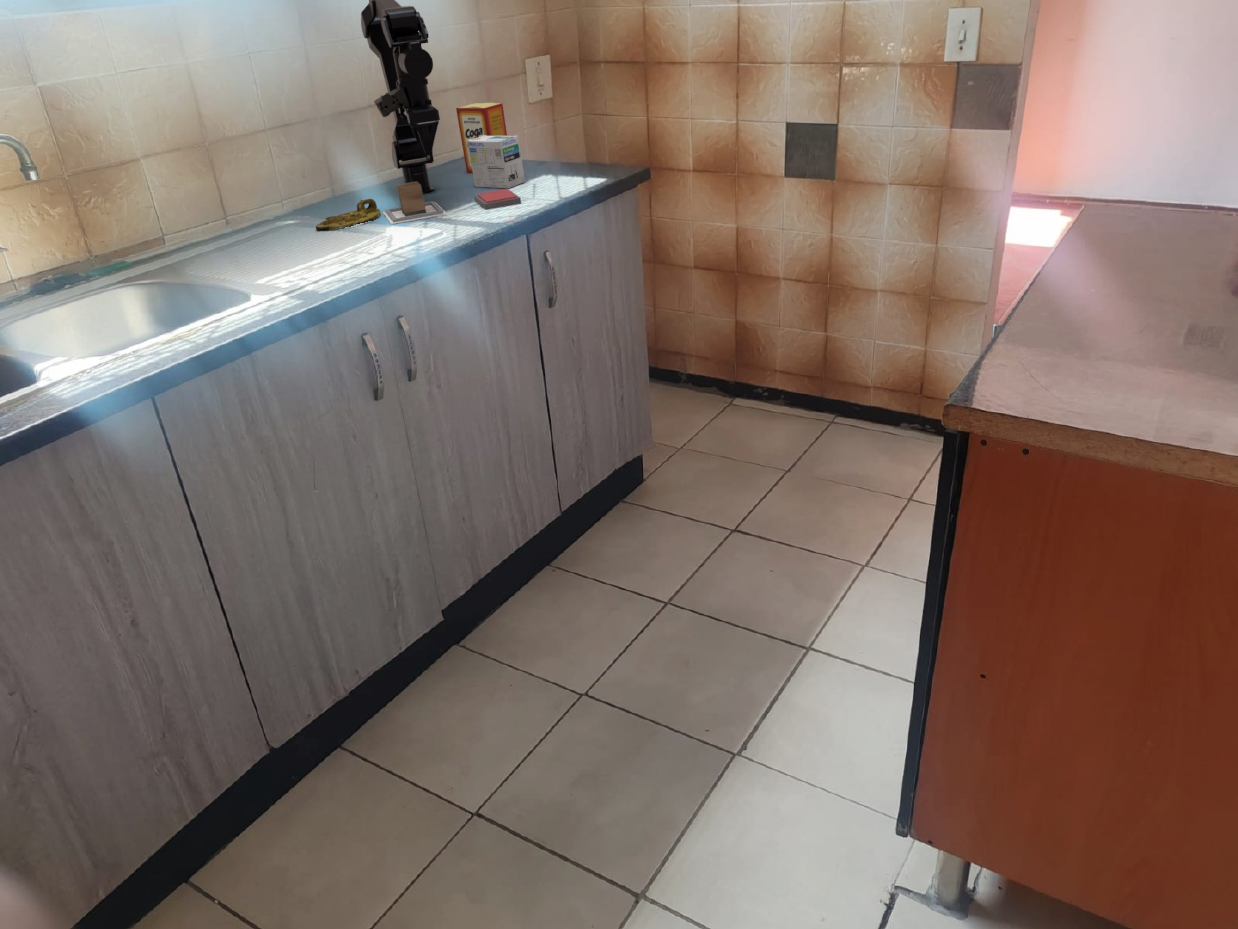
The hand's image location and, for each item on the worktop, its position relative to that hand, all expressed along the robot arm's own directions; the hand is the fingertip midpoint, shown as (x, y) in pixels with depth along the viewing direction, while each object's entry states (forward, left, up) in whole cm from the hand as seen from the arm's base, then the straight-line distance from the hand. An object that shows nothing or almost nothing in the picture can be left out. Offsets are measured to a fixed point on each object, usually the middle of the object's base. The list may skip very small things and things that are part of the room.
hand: (425, 151), depth 201 cm
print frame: (+4, -5, -12) cm, 14 cm away
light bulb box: (-10, +18, -12) cm, 23 cm away
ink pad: (+7, +13, -12) cm, 19 cm away
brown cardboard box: (+4, -5, -12) cm, 13 cm away
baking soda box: (-28, +20, -12) cm, 36 cm away
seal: (+2, -19, -12) cm, 23 cm away
